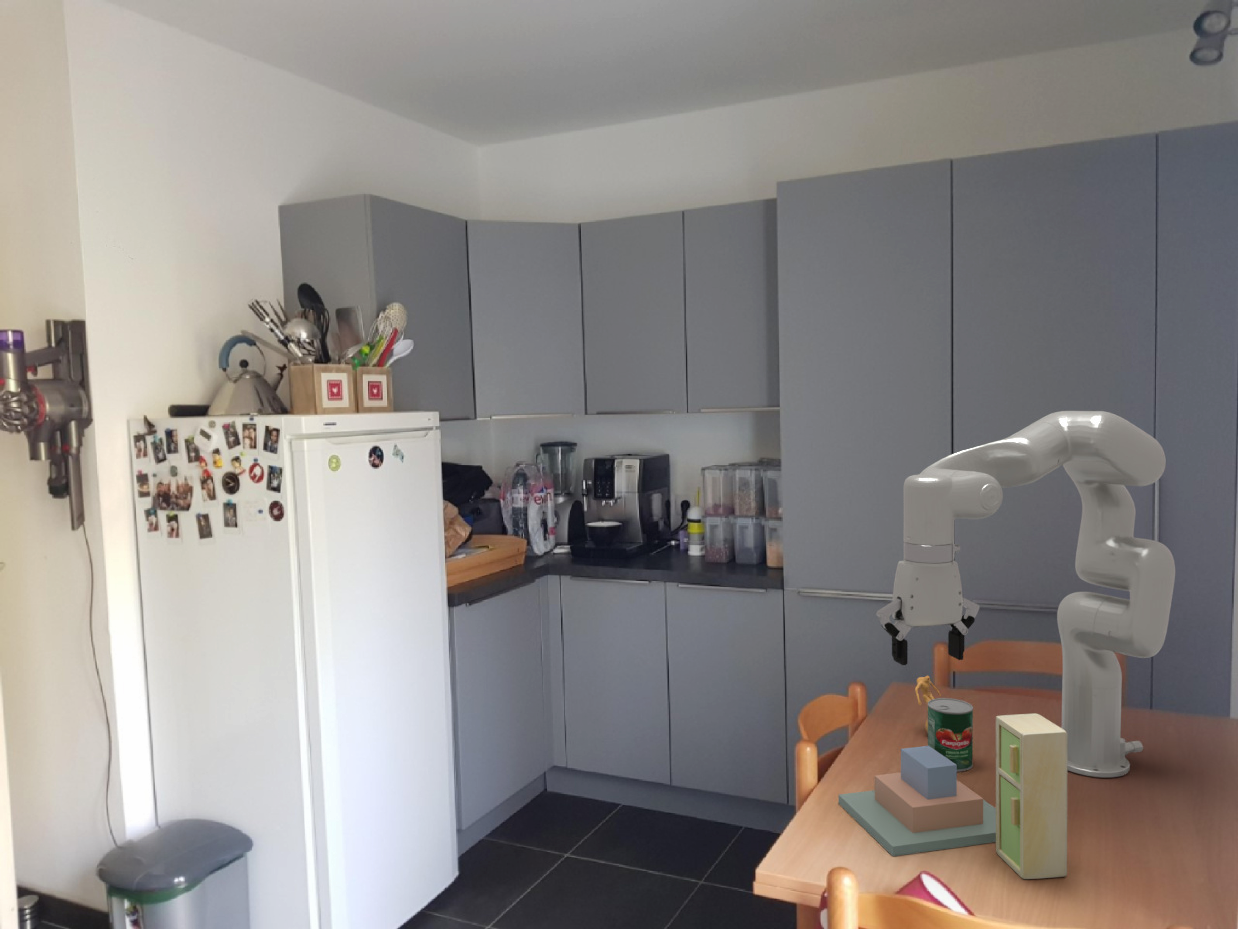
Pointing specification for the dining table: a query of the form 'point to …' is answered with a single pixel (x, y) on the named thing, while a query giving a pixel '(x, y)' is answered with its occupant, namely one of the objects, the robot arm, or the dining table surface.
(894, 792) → the block on teal plate
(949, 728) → the canned tomato
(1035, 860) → the toy refrigerator
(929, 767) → the slate brick
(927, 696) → the figurine
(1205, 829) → the dining table surface
